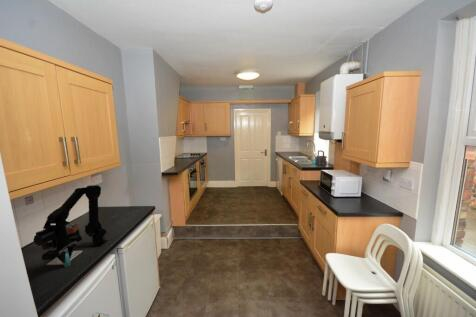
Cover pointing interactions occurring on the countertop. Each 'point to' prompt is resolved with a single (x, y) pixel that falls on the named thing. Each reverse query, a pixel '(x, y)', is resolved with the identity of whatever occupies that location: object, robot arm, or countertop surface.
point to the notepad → (58, 262)
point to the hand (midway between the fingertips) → (66, 260)
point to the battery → (73, 230)
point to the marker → (66, 258)
